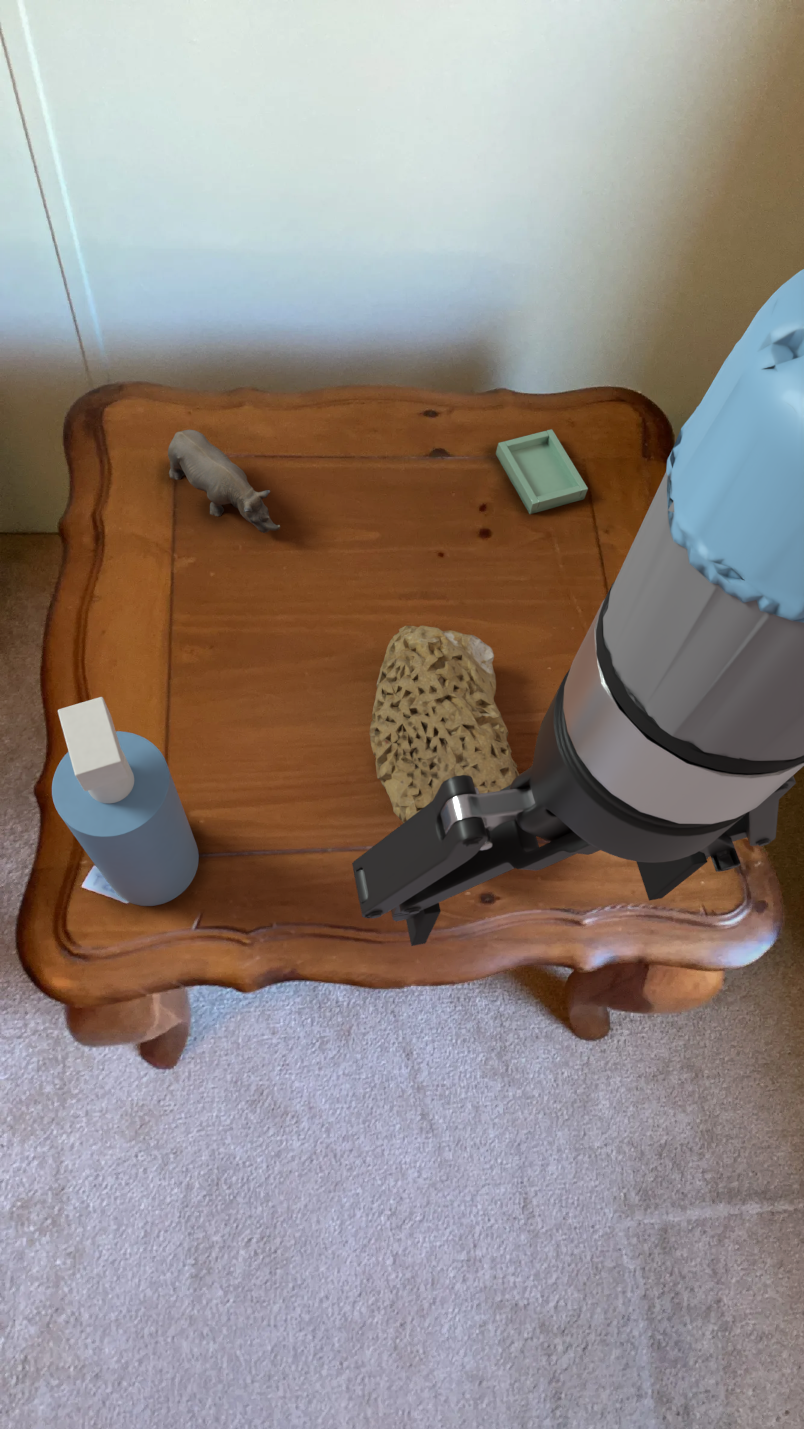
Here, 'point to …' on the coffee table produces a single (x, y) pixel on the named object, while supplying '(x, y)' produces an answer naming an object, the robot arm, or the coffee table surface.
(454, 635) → the sponge
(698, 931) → the coffee table surface
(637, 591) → the robot arm
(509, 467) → the soap dish
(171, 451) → the rhino figurine
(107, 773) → the spray bottle
